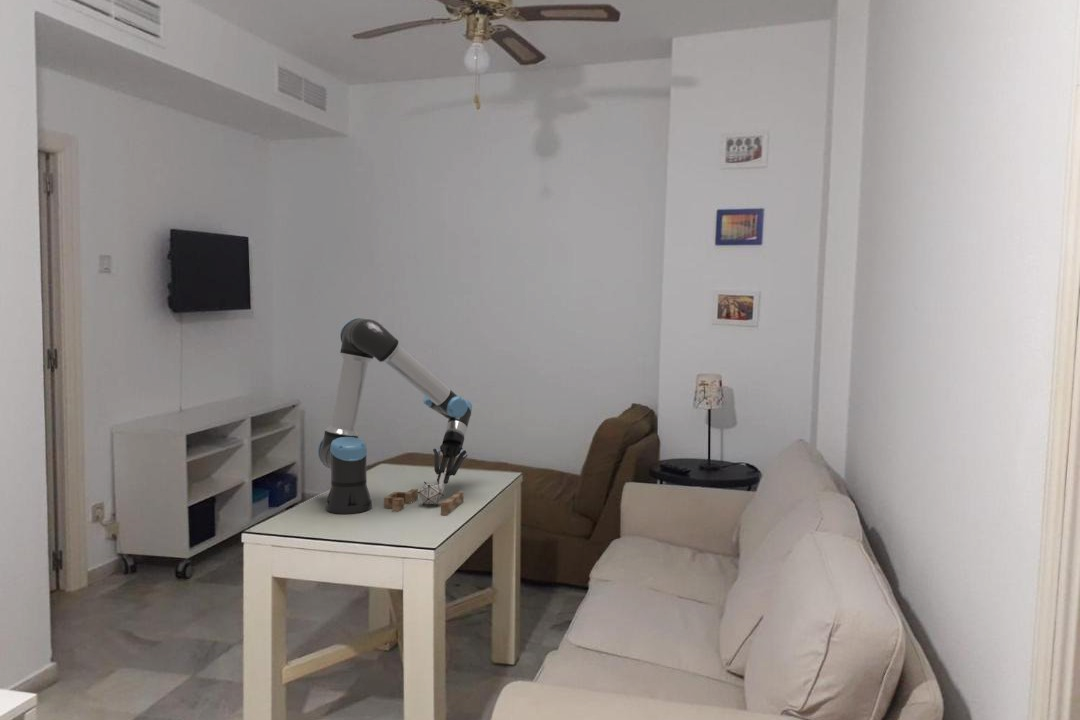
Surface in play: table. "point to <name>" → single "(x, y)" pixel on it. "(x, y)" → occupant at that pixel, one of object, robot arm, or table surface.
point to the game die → (430, 493)
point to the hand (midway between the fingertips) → (439, 490)
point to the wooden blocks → (399, 498)
